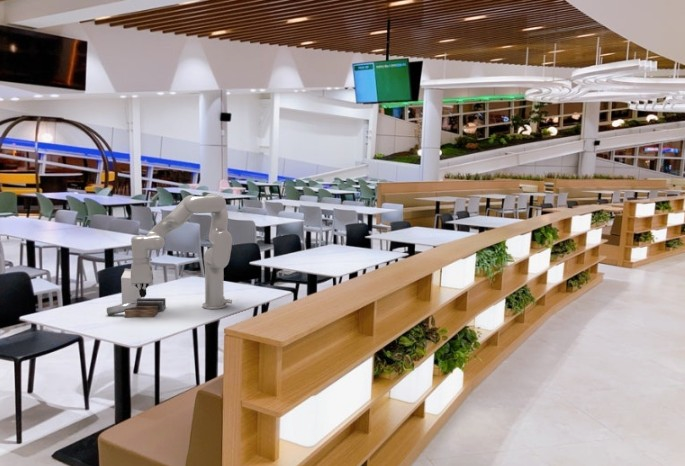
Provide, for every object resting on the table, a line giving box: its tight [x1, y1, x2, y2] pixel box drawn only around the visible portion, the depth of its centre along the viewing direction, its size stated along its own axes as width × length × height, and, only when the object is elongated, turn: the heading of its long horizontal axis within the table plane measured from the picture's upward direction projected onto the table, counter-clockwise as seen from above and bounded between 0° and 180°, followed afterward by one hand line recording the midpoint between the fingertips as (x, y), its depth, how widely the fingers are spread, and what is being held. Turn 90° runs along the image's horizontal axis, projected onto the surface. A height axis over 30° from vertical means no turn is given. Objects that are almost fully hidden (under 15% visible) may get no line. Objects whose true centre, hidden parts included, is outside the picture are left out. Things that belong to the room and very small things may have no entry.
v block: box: [136, 297, 167, 313], centre depth 299 cm, size 14×8×5 cm, turn 96°
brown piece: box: [124, 306, 159, 318], centre depth 289 cm, size 14×8×4 cm, turn 96°
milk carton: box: [120, 268, 141, 304], centre depth 308 cm, size 7×7×19 cm
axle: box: [106, 301, 138, 316], centre depth 288 cm, size 14×4×4 cm, turn 97°
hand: (143, 296), depth 289 cm, fingers closed
